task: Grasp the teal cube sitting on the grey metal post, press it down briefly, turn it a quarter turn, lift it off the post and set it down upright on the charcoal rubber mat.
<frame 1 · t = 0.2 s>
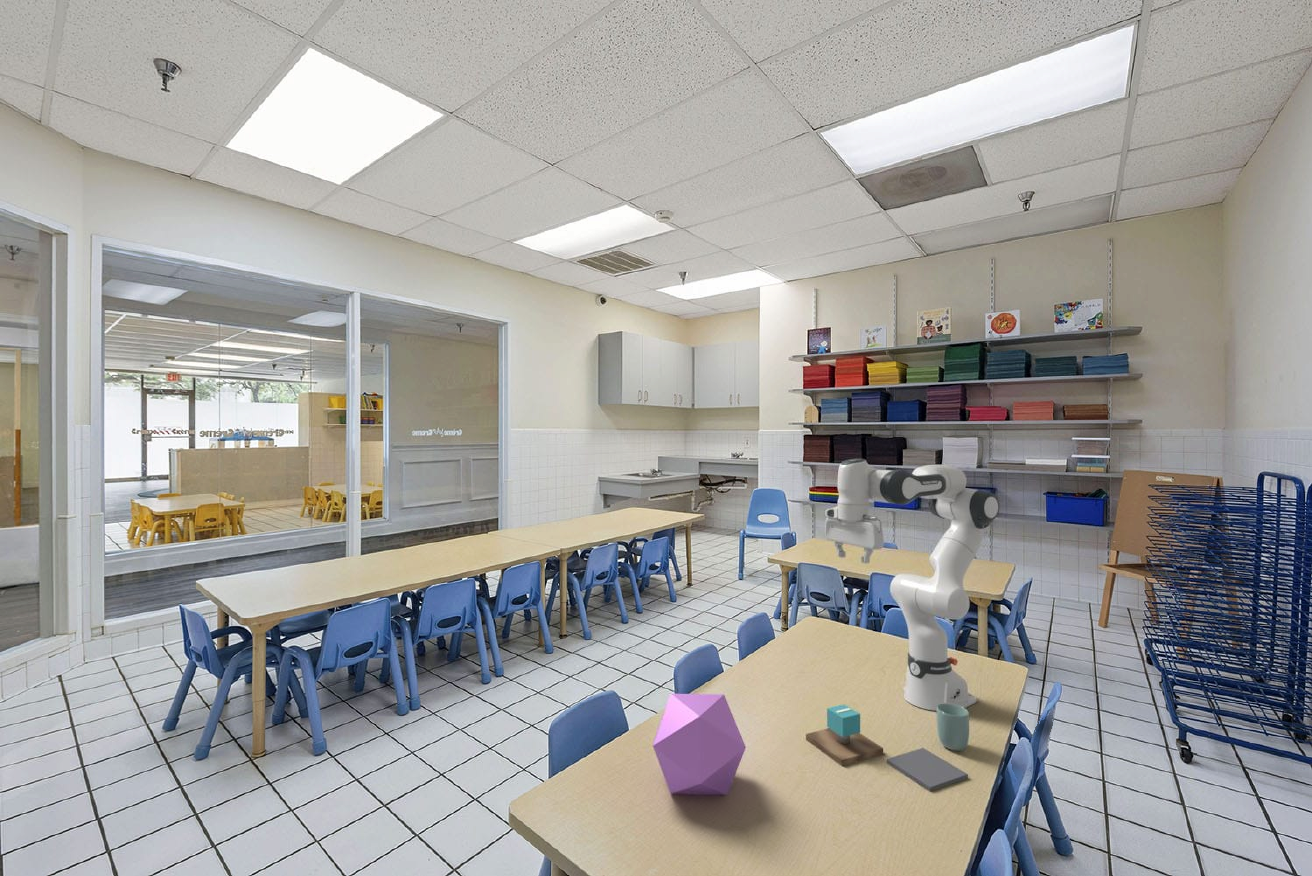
hand: (853, 559, 165), 47 cm above the table, fingers open, 8 cm apart
post base: (843, 746, 150), on the table
icosahedron: (698, 785, 133), on the table
mat: (926, 770, 139), on the table
cup: (953, 747, 150), on the table
teal cube: (843, 729, 150), point 4 cm above the table, touching post base
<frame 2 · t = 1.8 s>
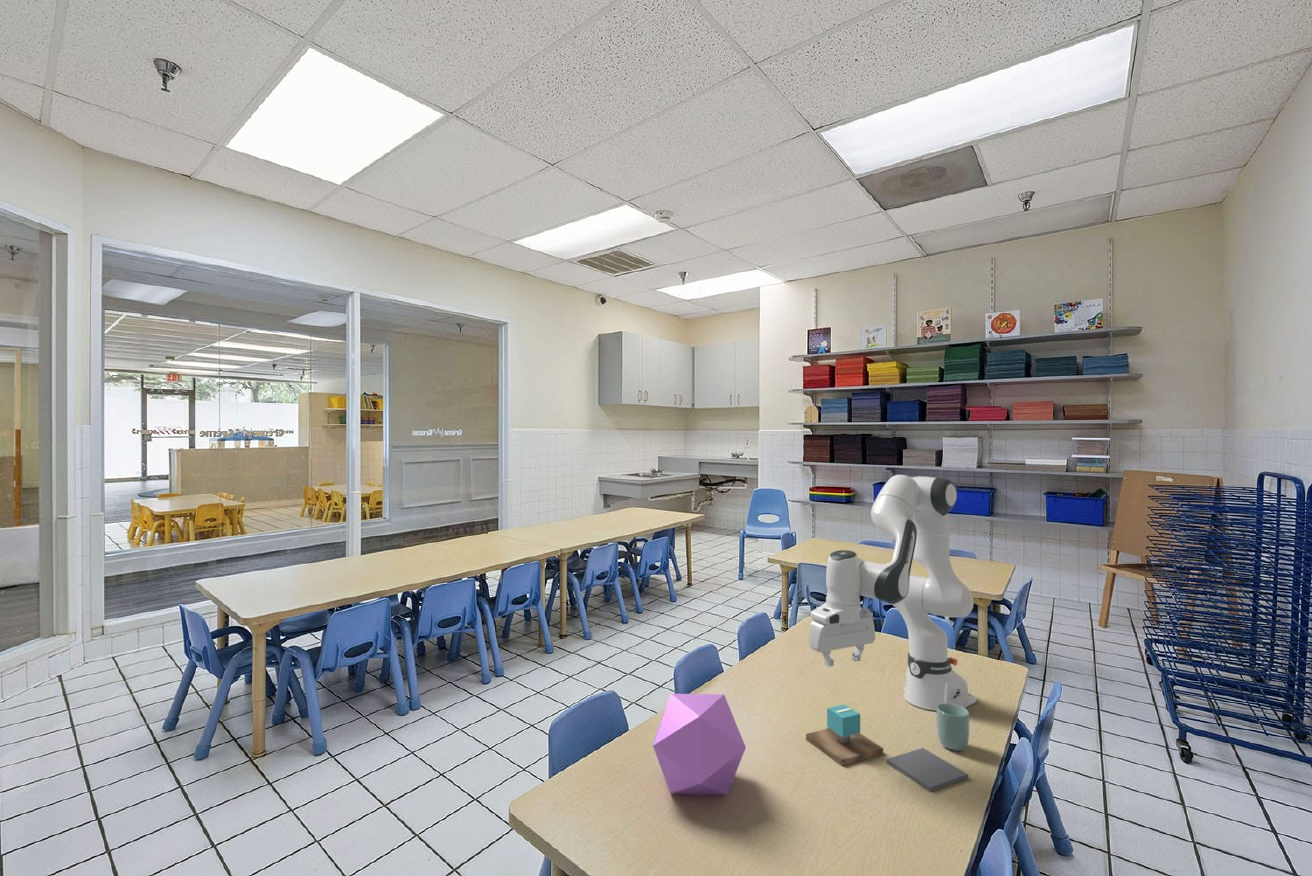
hand: (843, 663, 150), 22 cm above the table, fingers open, 8 cm apart
nothing on the table moved.
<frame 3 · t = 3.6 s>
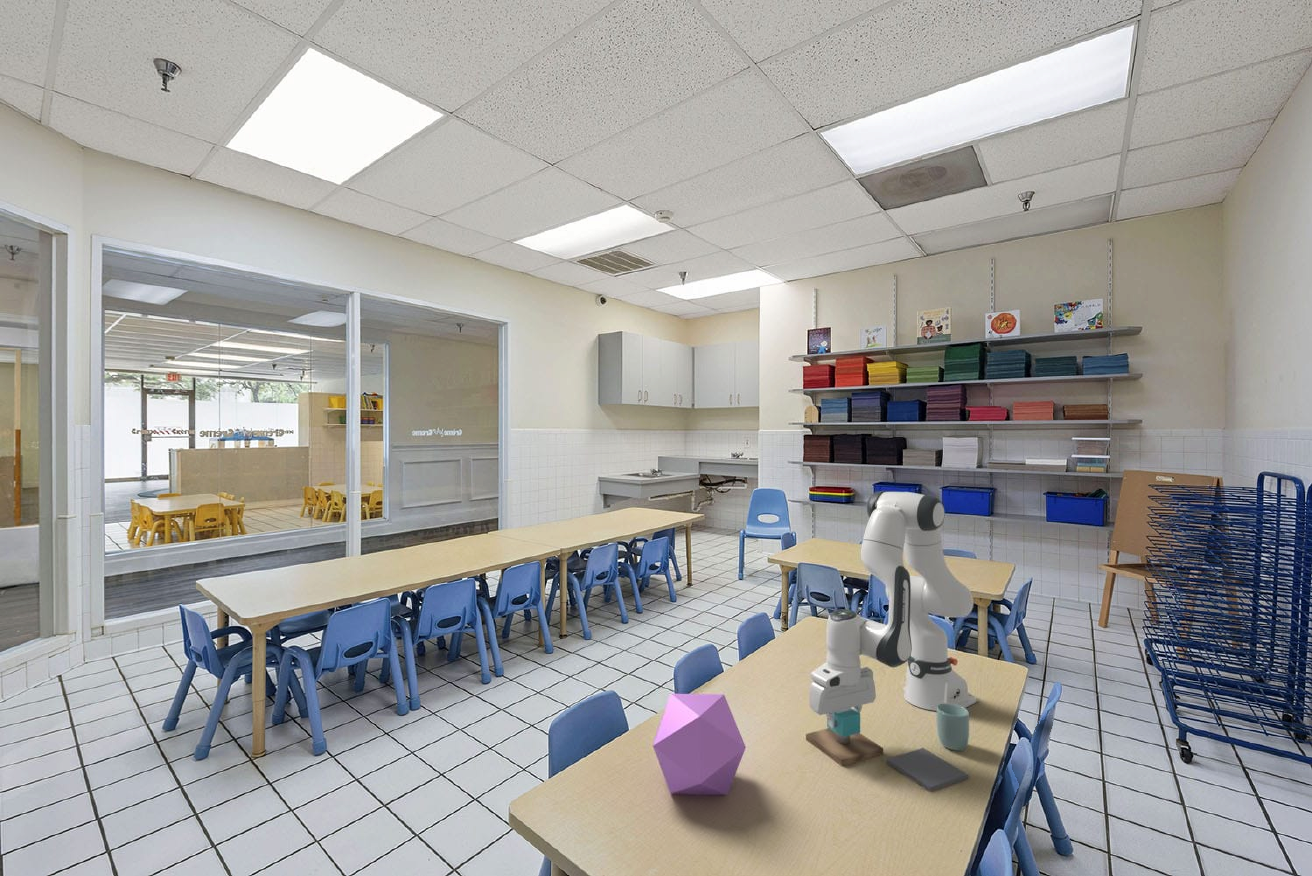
hand: (843, 723, 150), 6 cm above the table, fingers closed on teal cube, 6 cm apart
teal cube: (843, 729, 150), point 4 cm above the table, touching gripper, post base
everything else where it was.
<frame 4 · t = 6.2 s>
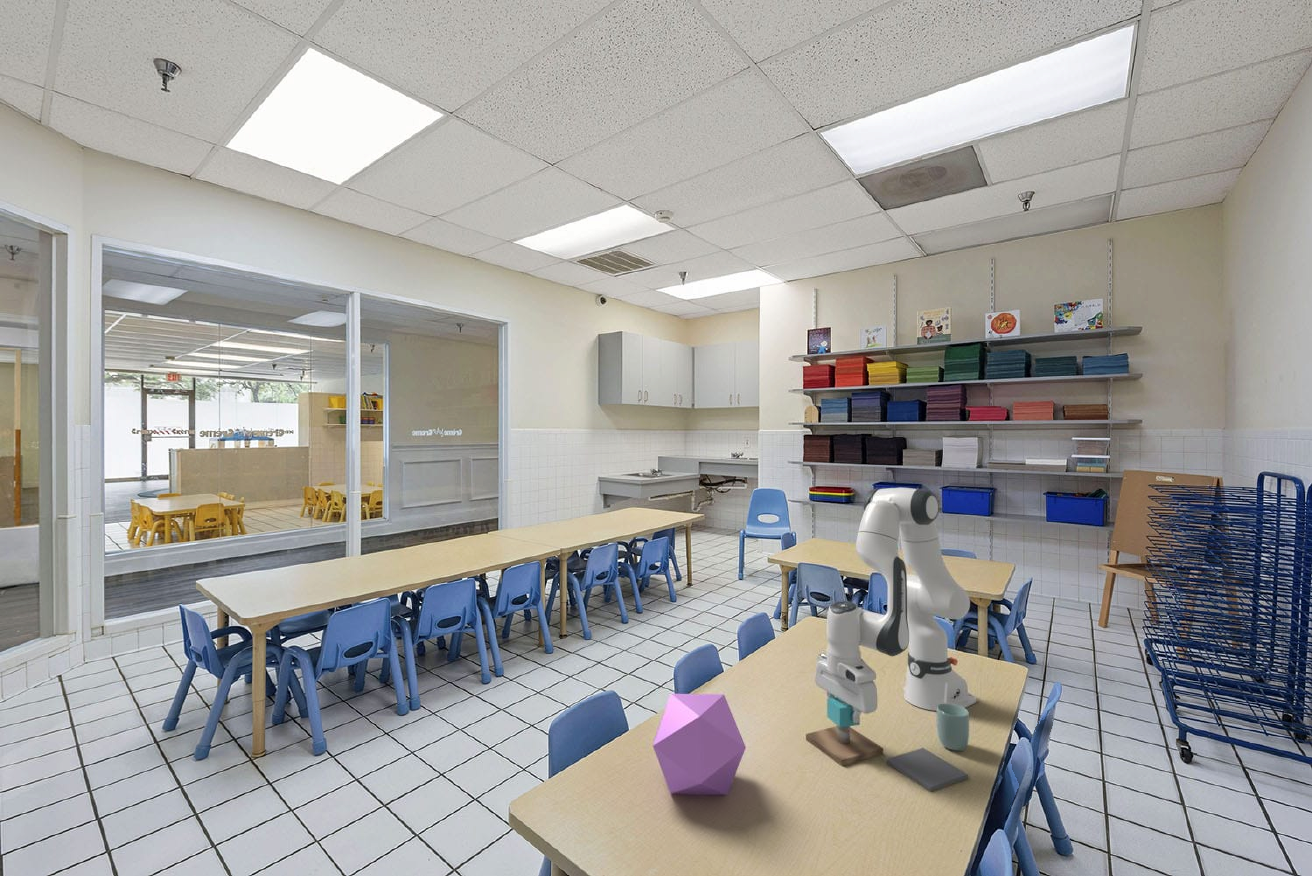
hand: (844, 715, 150), 8 cm above the table, fingers closed on teal cube, 6 cm apart
teal cube: (843, 720, 150), point 7 cm above the table, touching gripper
everything else where it was.
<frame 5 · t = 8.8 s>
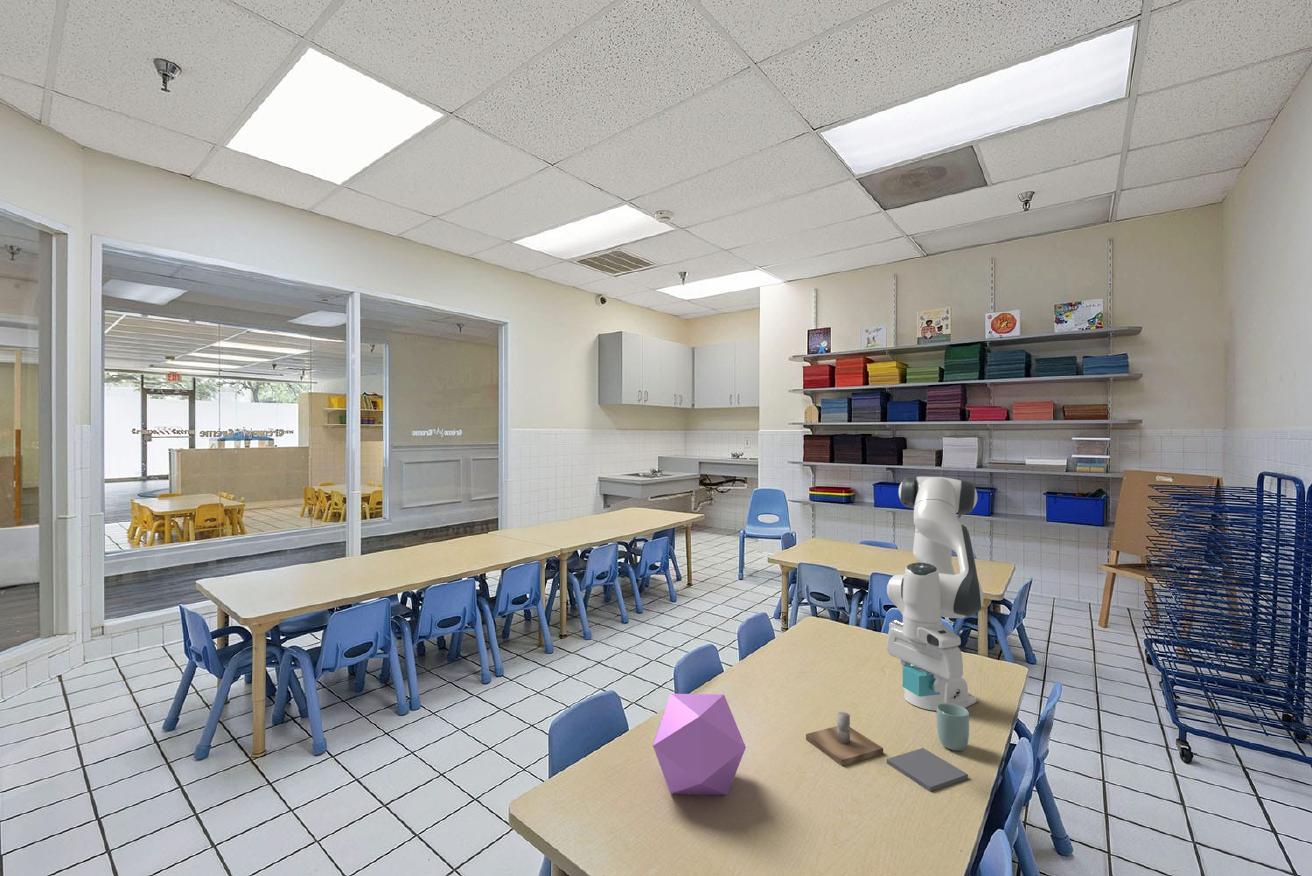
hand: (922, 684, 140), 21 cm above the table, fingers closed on teal cube, 6 cm apart
teal cube: (920, 690, 140), point 20 cm above the table, touching gripper
everything else where it was.
when the fingers open (4 cm above the table, at t = 11.8 s): teal cube drops 2 cm, resting on mat.
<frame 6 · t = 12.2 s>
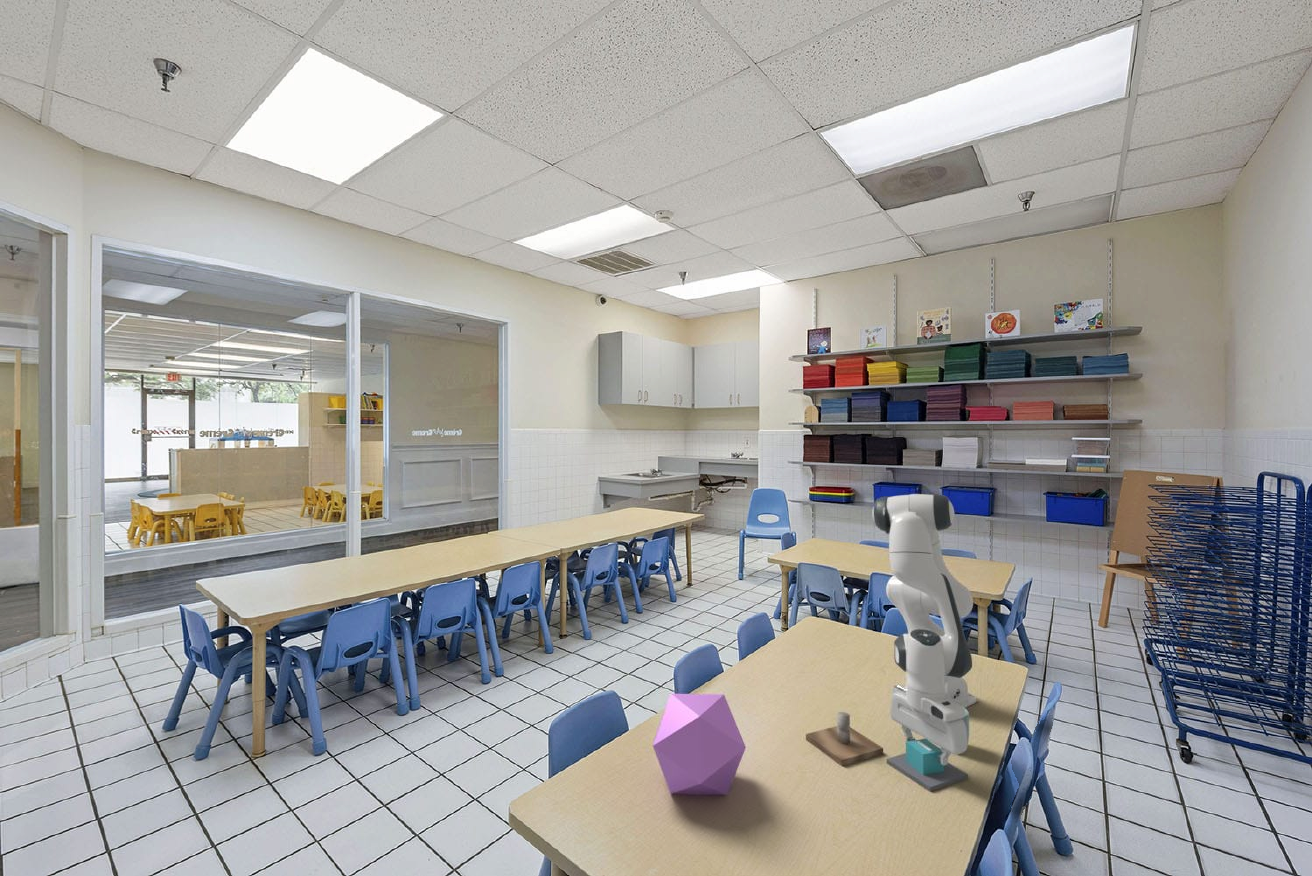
hand: (926, 753, 139), 4 cm above the table, fingers open, 8 cm apart
teal cube: (924, 766, 139), point 1 cm above the table, touching mat
everything else where it was.
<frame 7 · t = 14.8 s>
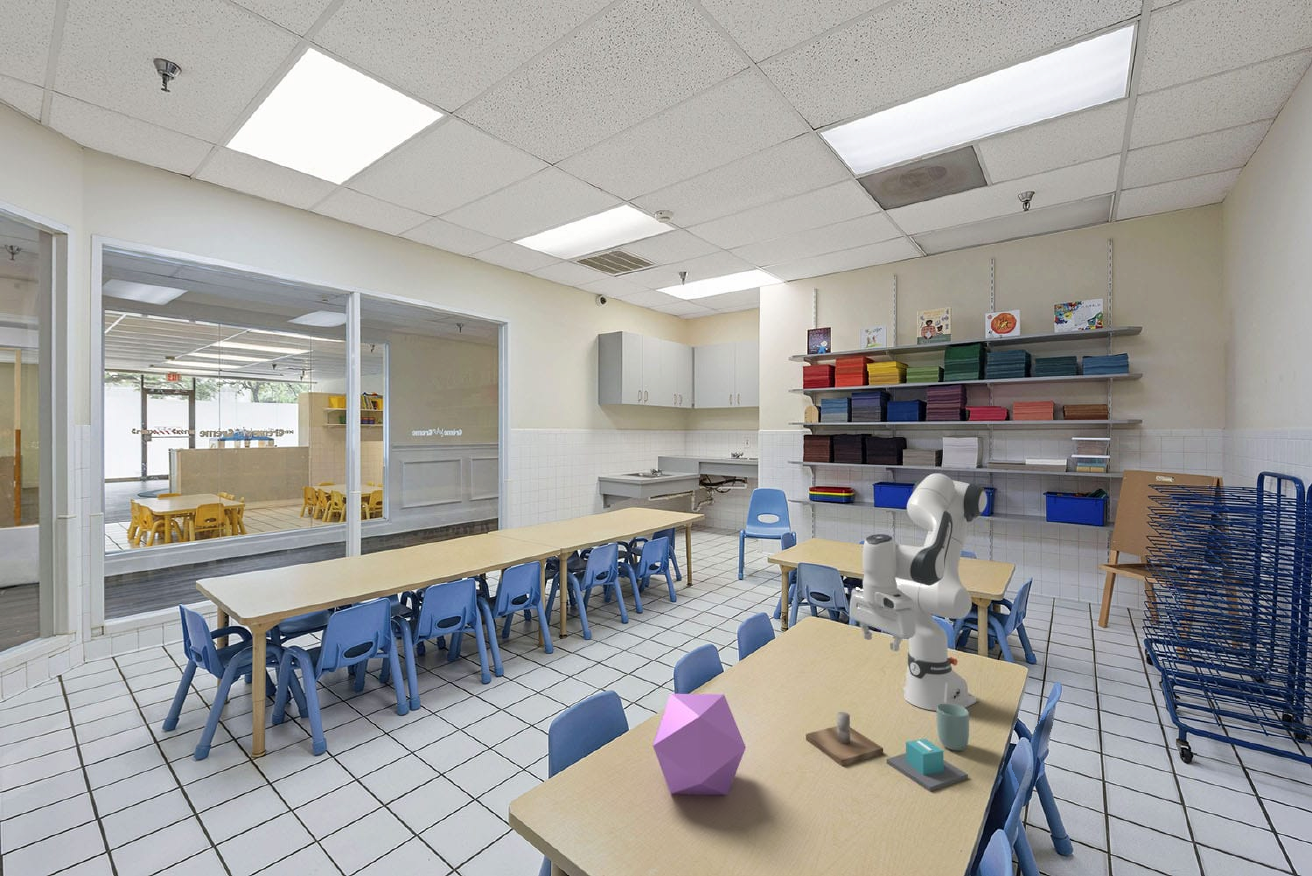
hand: (880, 644, 154), 26 cm above the table, fingers open, 8 cm apart
nothing on the table moved.
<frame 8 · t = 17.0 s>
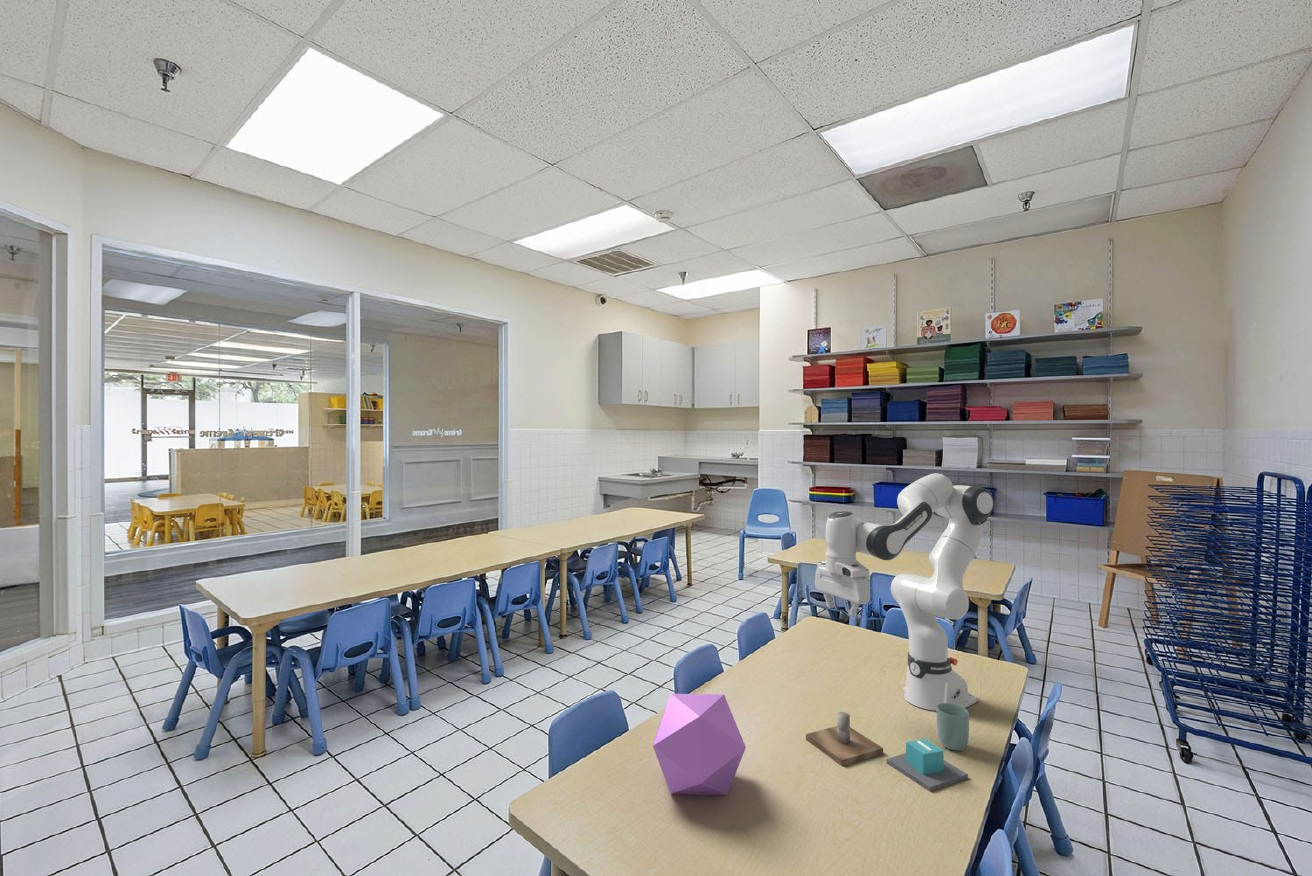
hand: (840, 611, 168), 31 cm above the table, fingers open, 8 cm apart
nothing on the table moved.
at the end: teal cube inside the target area (0.4 cm from its centre), point 1.0 cm above the table; teal cube tilted 0°; the gripper is holding nothing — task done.
